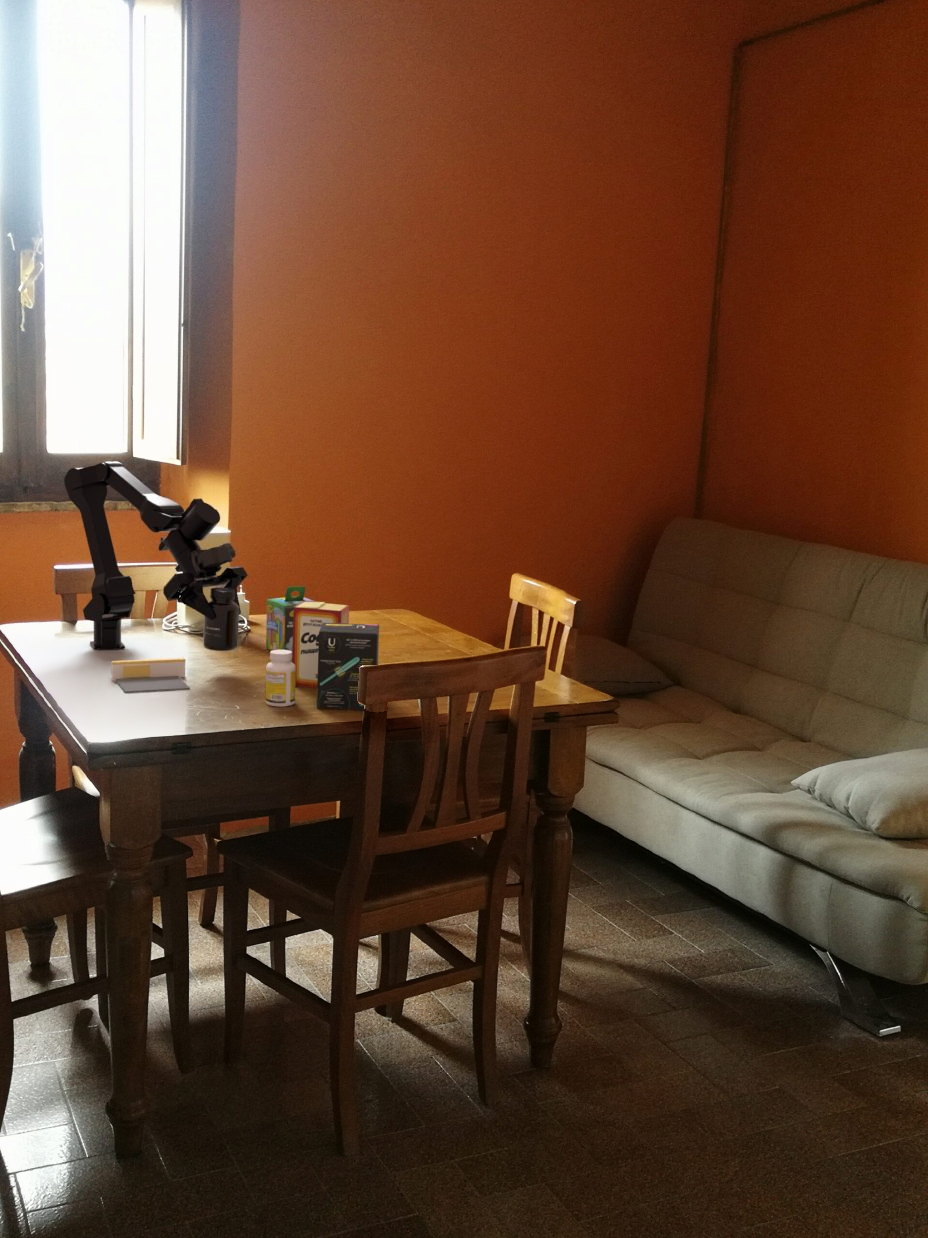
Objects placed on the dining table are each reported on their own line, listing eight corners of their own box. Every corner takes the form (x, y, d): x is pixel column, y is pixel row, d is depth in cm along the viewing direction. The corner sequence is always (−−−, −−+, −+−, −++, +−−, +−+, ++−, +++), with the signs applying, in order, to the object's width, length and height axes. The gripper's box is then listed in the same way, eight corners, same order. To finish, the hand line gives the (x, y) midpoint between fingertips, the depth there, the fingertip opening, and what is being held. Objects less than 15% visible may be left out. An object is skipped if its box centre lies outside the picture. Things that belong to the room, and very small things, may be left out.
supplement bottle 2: (286, 698, 222) (287, 647, 220) (300, 705, 218) (301, 653, 216) (260, 701, 219) (261, 649, 217) (273, 708, 214) (275, 656, 213)
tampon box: (377, 698, 226) (380, 623, 223) (375, 711, 217) (379, 633, 214) (319, 696, 225) (321, 620, 222) (315, 708, 216) (318, 630, 213)
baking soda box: (346, 682, 237) (349, 603, 235) (338, 689, 231) (341, 609, 228) (300, 678, 239) (302, 599, 236) (291, 685, 232) (293, 605, 229)
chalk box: (300, 645, 269) (302, 581, 267) (320, 653, 262) (322, 587, 260) (264, 648, 264) (265, 583, 261) (283, 657, 257) (285, 589, 254)
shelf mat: (115, 680, 228) (115, 678, 228) (178, 677, 233) (178, 675, 233) (125, 693, 219) (125, 691, 219) (189, 689, 225) (189, 687, 225)
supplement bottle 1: (204, 651, 234) (205, 591, 232) (202, 644, 240) (203, 586, 238) (239, 651, 236) (241, 592, 234) (236, 644, 242) (238, 586, 240)
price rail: (111, 678, 230) (111, 660, 229) (183, 674, 236) (183, 657, 235) (112, 680, 228) (112, 662, 227) (185, 676, 234) (185, 659, 234)
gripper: (174, 533, 228) (214, 597, 224) (242, 527, 244) (280, 587, 240) (145, 568, 234) (184, 631, 230) (213, 560, 249) (250, 619, 246)
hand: (226, 616), depth 236 cm, fingers closed on supplement bottle 1, 7 cm apart
